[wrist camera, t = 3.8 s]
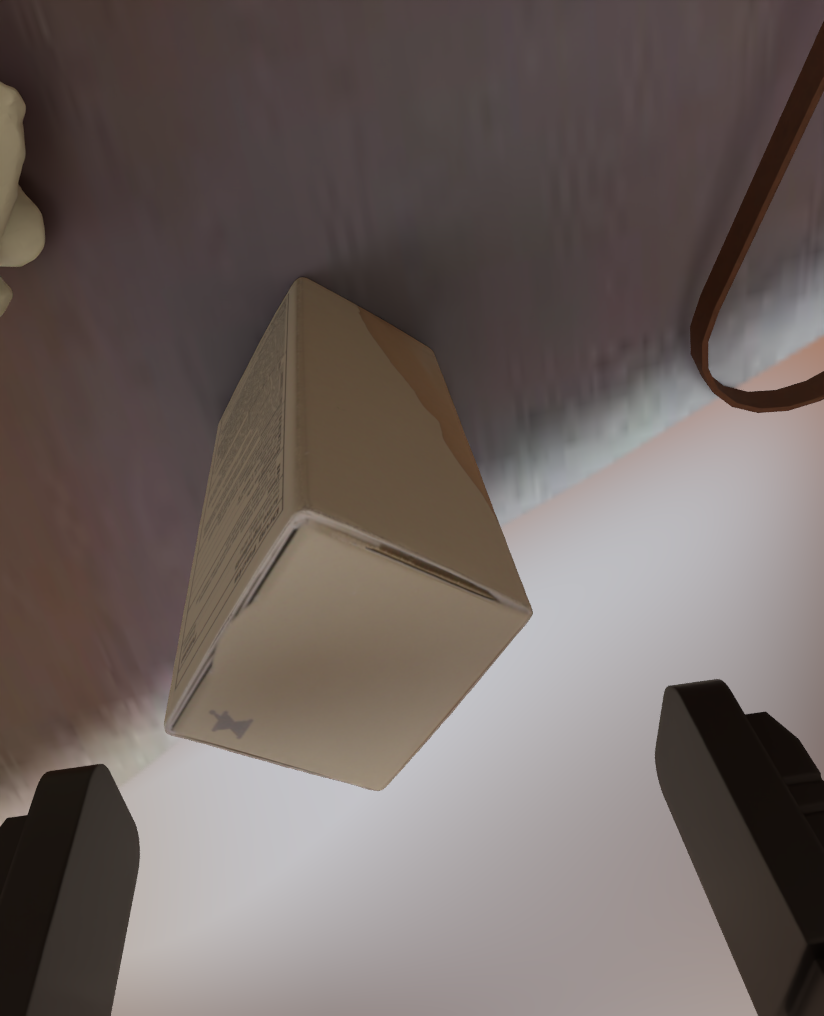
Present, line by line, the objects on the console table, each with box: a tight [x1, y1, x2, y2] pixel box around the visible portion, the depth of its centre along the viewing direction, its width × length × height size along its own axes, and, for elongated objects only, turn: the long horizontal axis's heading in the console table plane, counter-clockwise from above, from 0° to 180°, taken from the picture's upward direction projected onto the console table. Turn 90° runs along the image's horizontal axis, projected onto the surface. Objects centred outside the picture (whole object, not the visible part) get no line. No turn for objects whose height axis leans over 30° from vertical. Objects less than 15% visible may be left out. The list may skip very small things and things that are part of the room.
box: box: [164, 277, 533, 791], centre depth 17 cm, size 5×4×11 cm
